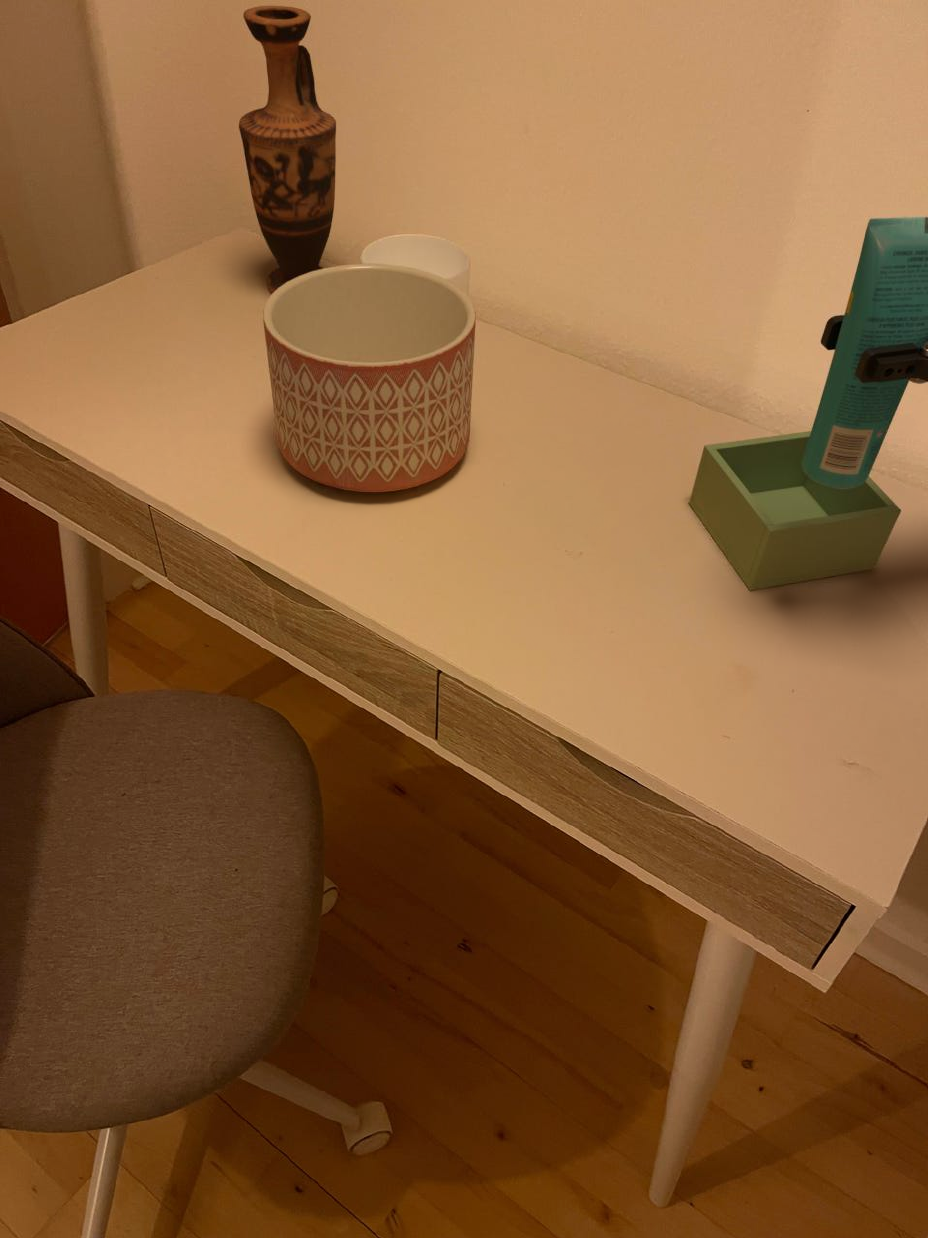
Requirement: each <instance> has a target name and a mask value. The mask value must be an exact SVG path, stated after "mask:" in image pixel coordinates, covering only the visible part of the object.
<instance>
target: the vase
mask: <svg viewBox="0 0 928 1238" xmlns="http://www.w3.org/2000/svg"><path fill="white" fill-rule="evenodd" d="M242 16H243V19H244V21H245V24H246V27H247V28H248V30H249V32H250V34H251V36H252V37H253V38H254V40H256V41H257V42H259V43H260V45H261V46H262V50H263V53H264V56H265V63H266V65H265V66H266V74H267V83H268V84H267V85H268V94H267V95H268V96H267V103H266V105H265V106H263V107H261V108H257V109H254V110H250V111H248V112H247V113H245V114H244V115H242V116H241V117H240V118H239V121H238V130H239V133H240V138H241V142H242V147H243V152H244V161H245V165H246V170H247V176H248V177H247V178H248V182H249V188H250V195H251V199H252V203H253V208H254V211H255V215H256V218H257V222H258V225H259V229H260V231H261V234H262V236H263V239H264V240H265V243H266V244H267V247H268V249H269V251H270V252H271V254H272V255H273V258H274V259H275V262H276V263H277V265H278V267H277V268H275V269H273V270H272V271H271V273H270V274H269V275H268V278H267V288H268V290H269V292H270V293H271V294H273V293H274V292H275V291H276V290H277V289H278V288H279V287H281V286H282V285H284V284H285V283H286V282H288V281H290V280H292V279H294V278H296V277H298V276H301V275H303V274H306V273H309V272H312V271H316V270H320V269H323V268H324V267H323V266H321V265H320V264H321V260H322V257H323V254H324V252H325V249H326V246H327V243H328V240H329V238H330V234H331V229H332V223H333V217H334V211H335V199H336V166H337V165H336V163H337V159H336V158H337V153H336V152H337V147H336V146H337V144H336V143H337V142H336V138H337V120H336V118H335V117H334V116H333V115H331V114H330V113H328V112H326V111H324V110H322V108H321V106H320V105H319V103H318V100H317V95H316V89H315V88H316V86H315V75H314V71H313V65H312V58H311V54H310V52H309V50H308V49H307V47H305V46H304V45H301V44H300V43H301V41H303V39H304V38H305V36H306V34H307V32H308V29H309V26H310V22H311V19H312V16H311V14H310V12H308V11H306V10H305V9H302V8H299V7H293V6H285V5H284V6H283V5H260V6H259V5H258V6H253V7H250V8H248V9H246V10H244V12H243V14H242Z"/></svg>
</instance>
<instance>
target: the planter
mask: <svg viewBox="0 0 928 1238" xmlns="http://www.w3.org/2000/svg"><path fill="white" fill-rule="evenodd" d="M476 322H477V321H476V310H475V306H474V303H473V301H472V300H471V298H470V296H469V297H468V296H467V295H466V294H465V293H464V292H463V291H462V290H461V289H460V288H459V287H457V286H456V285H454V284H453V283H451V282H449V281H447V280H445V279H443V278H441V277H439V276H437V275H434V274H431V273H429V272H425V271H421V270H418V269H414V268H409V267H403V266H397V265H388V264H360V263H351V264H341V265H334V266H330V267H323V269H320V270H316V271H312V272H309V273H306V274H303V275H301V276H298V277H296V278H294V279H292V280H290V281H288V282H286V283H285V284H284V285H282V286H281V287H279V288H278V289H277V290H276V291H275V292H274V293H271V294H270V296H269V297H268V299H267V300H266V302H265V305H264V308H263V311H262V323H263V330H264V331H263V332H264V339H265V346H266V347H265V348H266V354H267V355H266V356H267V364H268V372H269V380H270V387H271V396H272V405H273V413H274V421H275V430H276V438H277V445H278V447H279V450H280V453H281V454H282V456H283V457H284V459H285V461H287V463H288V464H289V465H290V466H291V467H292V468H293V469H295V470H296V471H297V472H298V473H300V474H301V475H303V476H305V477H306V478H308V479H311V480H312V481H314V482H317V483H320V484H322V485H325V486H327V487H330V488H335V489H340V490H344V491H352V492H359V493H382V492H394V491H400V490H401V491H402V490H406V489H410V488H414V487H417V486H421V485H423V484H427V483H429V482H431V481H434V480H436V479H438V478H439V477H441V476H443V475H444V474H446V473H448V472H449V471H450V470H451V469H453V468H454V467H455V466H457V464H458V463H459V462H460V461H461V460H462V459H463V457H464V455H465V453H466V452H467V450H468V446H469V443H470V434H471V416H472V397H473V396H472V395H473V379H474V377H473V375H474V359H475V358H474V357H475V339H476Z"/></svg>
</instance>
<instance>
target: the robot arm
mask: <svg viewBox="0 0 928 1238" xmlns="http://www.w3.org/2000/svg"><path fill="white" fill-rule="evenodd" d="M844 315H845V314H840V315H839V314H838V315H834V316H831V317H830V318H829V319H828V320H827V321H826V323H825V325H824V329H823V332H822V335H821V337H820V344H821V345H822V346H823V347H824V348H825V349H826V351H835V348H836V344H837V341H838V337H839V333H840V330H841V326H842V322H843V318H844ZM855 377H856V378H857V379H858V380H859V381H860V382H861V383H871V382H888V381H893V380H894V381H895V380H902V379H908V380H909V382H911V383H913V384H919V385H922V384H926V383H928V339H927V341H926V342H923V343H921V345H920V347H919V348H918V347H917V346H916V345H915V344H914V343H907V344H899V345H891V346H883V347H876V348H869V349H867V350H865V351H864V352H863V353H862V355H861V358H860V360H859V363H858V366H857V368H856V371H855Z"/></svg>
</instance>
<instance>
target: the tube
mask: <svg viewBox="0 0 928 1238" xmlns="http://www.w3.org/2000/svg"><path fill="white" fill-rule="evenodd" d="M865 229H866V230H865V232H864V233H865V234H864V238H863V241H862V246H861V250H860V255H859V259H858V262H857V266H856V270H855V274H854V278H853V281H852V285H851V288H850V293H849V296H848V300H847V304H846V308H845V311H844V314H843V315H844V318H843V322H842V326H841V330H840V333H839V337H838V341H837V344H836V348H835V350H833V351H834V352H833V355H832V359H831V362H830V365H829V368H828V369H829V370H828V372H827V376H826V380H825V383H824V387H823V390H822V393H821V397H820V400H819V404H818V407H817V411H816V414H815V417H814V421H813V424H812V427H811V430H810V431H811V433H810V437H809V440H808V443H807V447H806V450H805V453H804V457H803V460H802V468H803V470H804V472H805V474H807V475H808V476H809V477H810V478H811V479H812V480H814V481H815V482H817V483H820V484H822V485H826V486H829V487H833V488H838V489H850V488H855V487H858V486H860V485H862V484H863V483H865V482H866V480H867V478H868V476H869V477H870V474H871V471H872V469H873V466H874V464H875V462H876V460H877V458H878V455H879V452H880V450H881V448H882V445H883V443H884V441H885V439H886V436H887V435H888V434H887V433H888V431H889V429H890V427H891V425H892V422H893V420H894V417H895V415H896V413H897V410H898V408H899V405H900V403H901V401H902V398H903V396H904V394H905V391H906V389H907V387H908V385H909V382H910V381H909V380H908V379H902V380H895V381H894V380H893V381H888V382H871V383H861V382H860V381H859V380H858V379H857V378H856V377H855V371H856V368H857V366H858V363H859V360H860V358H861V355H862V353H863V352H864V351H865V350H867V349H869V348H876V347H883V346H891V345H899V344H907V343H914V344H915V345H916V346H917V347H918V348H919V347H920V345H921V343H923V342H926V341H927V339H928V216H901V217H900V216H898V217H897V216H894V217H892V216H891V217H872V218H871V217H870V218H869V219H868V223H867V225H866V228H865Z"/></svg>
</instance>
